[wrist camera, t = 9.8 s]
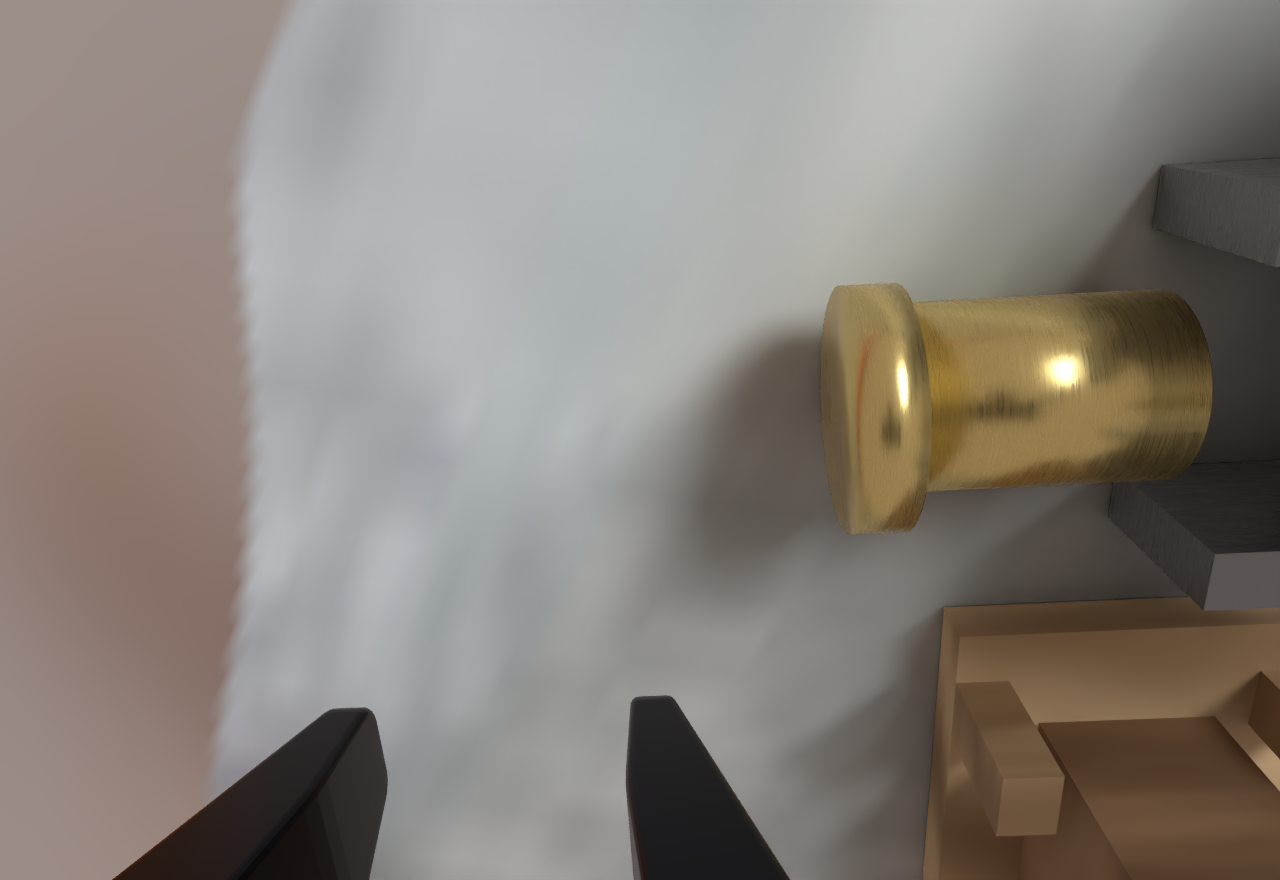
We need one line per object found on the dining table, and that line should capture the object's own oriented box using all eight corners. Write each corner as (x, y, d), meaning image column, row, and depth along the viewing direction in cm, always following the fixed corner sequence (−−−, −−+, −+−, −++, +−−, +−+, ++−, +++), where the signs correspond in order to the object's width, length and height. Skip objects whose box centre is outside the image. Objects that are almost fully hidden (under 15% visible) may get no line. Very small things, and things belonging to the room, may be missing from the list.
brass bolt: (1126, 245, 18) (1274, 300, 14) (1096, 458, 20) (1219, 566, 15) (822, 262, 18) (874, 322, 14) (818, 471, 20) (863, 582, 16)
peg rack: (944, 607, 21) (1009, 728, 17) (1292, 592, 21) (1437, 710, 17) (915, 966, 26) (962, 1125, 22) (1201, 957, 25) (1300, 1117, 22)
